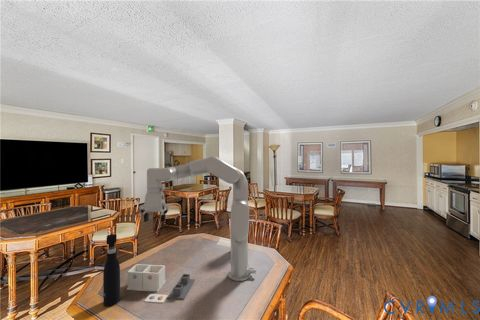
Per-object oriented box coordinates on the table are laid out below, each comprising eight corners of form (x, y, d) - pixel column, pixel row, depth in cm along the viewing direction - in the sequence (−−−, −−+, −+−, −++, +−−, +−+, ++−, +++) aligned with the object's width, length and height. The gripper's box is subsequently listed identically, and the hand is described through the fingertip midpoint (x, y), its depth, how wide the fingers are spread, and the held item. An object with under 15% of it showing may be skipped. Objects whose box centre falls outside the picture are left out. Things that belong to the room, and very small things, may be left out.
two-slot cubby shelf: (166, 281, 108) (166, 265, 108) (158, 291, 99) (157, 273, 99) (136, 279, 109) (136, 263, 109) (126, 289, 101) (126, 272, 101)
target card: (168, 295, 96) (168, 294, 96) (163, 302, 91) (163, 301, 91) (150, 294, 97) (150, 293, 97) (144, 301, 92) (144, 300, 92)
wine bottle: (123, 296, 96) (122, 232, 96) (115, 306, 89) (114, 237, 89) (109, 297, 95) (108, 233, 96) (100, 307, 89) (99, 238, 89)
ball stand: (194, 280, 108) (194, 273, 108) (183, 299, 93) (183, 291, 93) (180, 279, 109) (180, 272, 109) (167, 298, 94) (167, 290, 94)
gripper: (172, 189, 115) (172, 219, 115) (143, 189, 117) (143, 219, 117) (166, 191, 108) (166, 224, 108) (135, 191, 110) (135, 223, 110)
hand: (154, 221), depth 112 cm, fingers open, 9 cm apart
